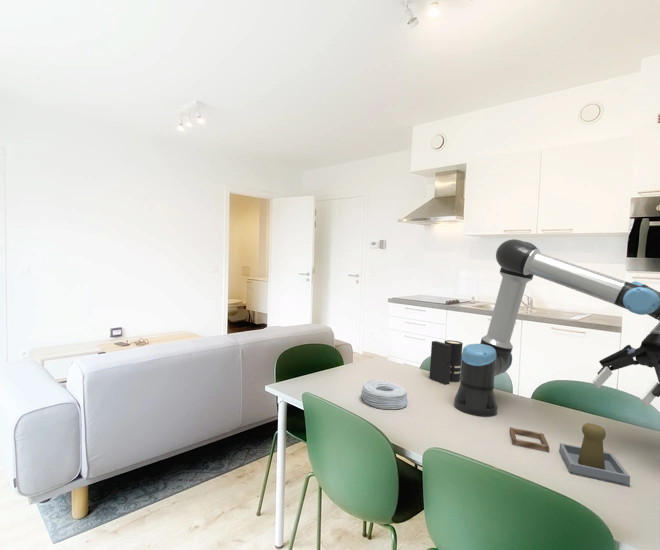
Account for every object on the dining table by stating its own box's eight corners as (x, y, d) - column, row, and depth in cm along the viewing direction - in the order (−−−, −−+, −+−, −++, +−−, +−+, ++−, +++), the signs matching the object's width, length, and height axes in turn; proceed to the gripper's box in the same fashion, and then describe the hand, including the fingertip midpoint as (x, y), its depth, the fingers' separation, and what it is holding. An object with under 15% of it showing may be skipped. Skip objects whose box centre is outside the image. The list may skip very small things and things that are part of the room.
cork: (572, 459, 101) (575, 420, 101) (592, 459, 102) (595, 420, 101) (589, 471, 95) (592, 430, 95) (611, 471, 96) (614, 430, 95)
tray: (570, 473, 95) (570, 463, 95) (559, 451, 106) (559, 442, 106) (629, 486, 90) (630, 476, 90) (611, 462, 102) (611, 453, 102)
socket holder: (512, 444, 109) (512, 439, 109) (509, 431, 118) (509, 427, 118) (548, 452, 106) (549, 447, 106) (542, 438, 114) (543, 433, 114)
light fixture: (465, 381, 170) (467, 343, 170) (445, 385, 163) (448, 345, 163) (448, 375, 179) (450, 339, 178) (428, 378, 171) (431, 341, 171)
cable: (363, 391, 149) (364, 377, 149) (407, 397, 146) (408, 382, 145) (358, 407, 132) (359, 390, 132) (407, 414, 128) (408, 397, 128)
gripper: (723, 362, 95) (674, 421, 92) (626, 340, 119) (584, 386, 116) (711, 342, 93) (660, 401, 90) (615, 324, 117) (572, 370, 115)
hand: (617, 393), depth 103 cm, fingers open, 13 cm apart
